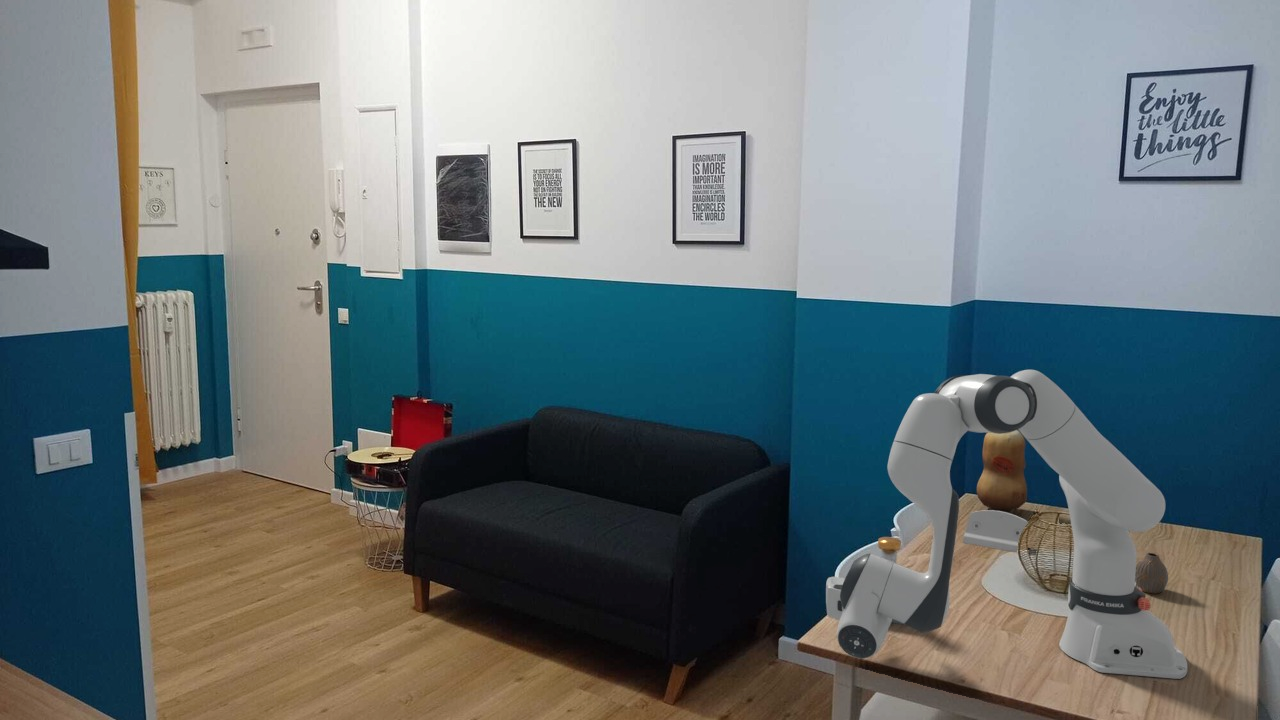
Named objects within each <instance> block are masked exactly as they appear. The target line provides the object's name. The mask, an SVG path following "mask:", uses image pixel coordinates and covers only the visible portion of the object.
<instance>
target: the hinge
mask: <svg viewBox="0 0 1280 720" xmlns="http://www.w3.org/2000/svg"><path fill="white" fill-rule="evenodd" d="M1028 522H1029V521H1028V520H1026V519H1025V518H1022V517H1020V516H1017V515H1016V514H1013V513H1010V512H1007V513H1006V512H1002V511H995V510H992V509H989V510H988V509H984V510H983V509H982V510H976V511H972V512H970V514H969V517H968V521H967V523H966V527H965V531H964V534H963V538H962V543H963V544H969V545H972V546H973V545H974V546H979V547H985V548H990V549H995V550H1001V551H1006V552H1011V553H1017V548H1018V542H1019V538H1020V535H1021V533H1022V531H1023V529H1024V528H1025V526H1026V525H1027V524H1028ZM1017 554H1018V553H1017Z"/></svg>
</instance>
